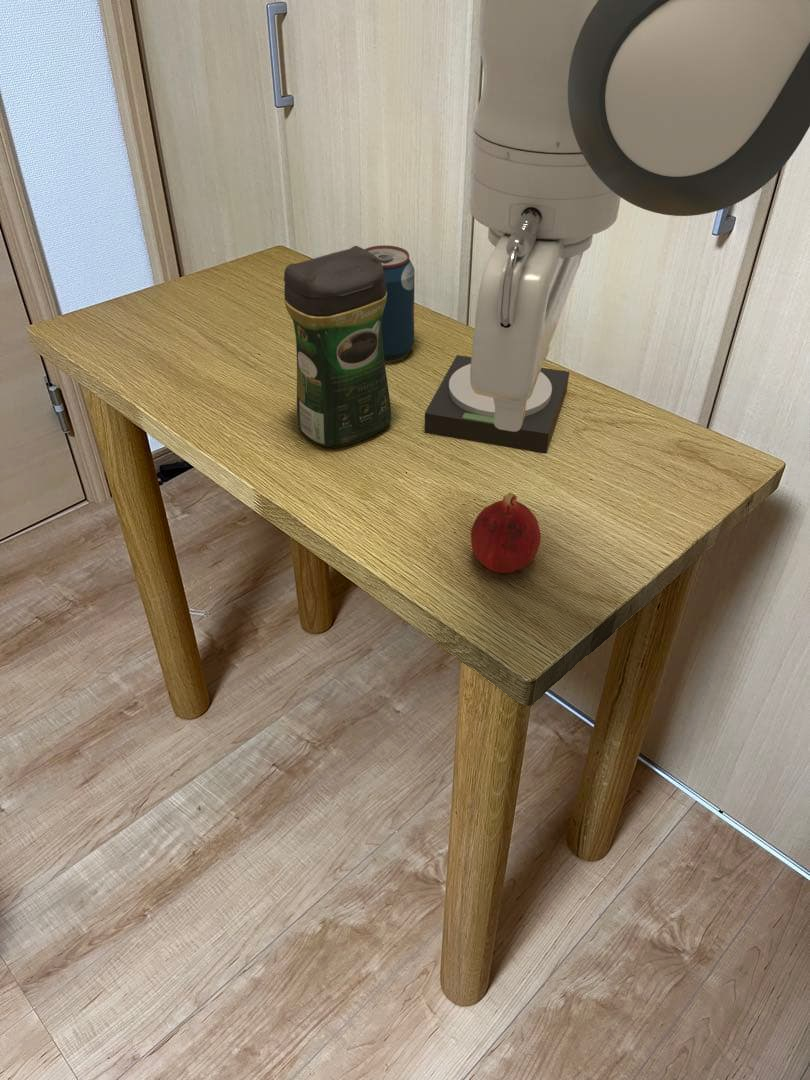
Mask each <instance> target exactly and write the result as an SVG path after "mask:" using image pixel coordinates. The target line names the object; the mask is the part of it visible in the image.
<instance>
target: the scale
mask: <svg viewBox="0 0 810 1080" xmlns="http://www.w3.org/2000/svg"><path fill="white" fill-rule="evenodd" d="M471 358H472V356H466V355H461V354H456V356H455V357H454V359H453V361H452V363H451V364H450V366H449V368H448V370H447V372H446V373H445V375H444V378H443V379H442V381H441V383H440V384H439V386H438V388H437V390H436V391H435V394H434V396H433V397H432V399H431V401H430V403H429V405H428V407H427V408H426V410H425V412H424V433H426V434H427V433H428V434H431V435H432V434H433V435H439V436H443V437H450V438H456V439H463V440H467V441H474V442H479V443H486V444H492V445H497V446H501V447H502V446H503V447H509V448H515V449H520V450H526V451H532V452H537V453H542V454H547V453H548V449H549V446H550V444H551V441H552V438H553V434H554V431H555V428H556V425H557V422H558V419H559V417H560V413H561V410H562V408H563V407H562V406H563V403H564V400H565V399H566V398H565V397H566V395H567V391H568V386H569V377H570V371H566V370H561V369H553V368H547V367H542V368H541V370H540V373H539V376H538V379H537V381H536V384H535V387H534V390H533V393H532V395H531V397H530V398H529V399H528V400H527V402H526V409H525V417H524V420H523V423H522V426H521V428H520V430H518V431H516V432H512V431H507V430H501V429H498V428H496V427H495V425H494V413H495V404H494V400H493V397H487V396H483V395H479V394H476V393H475V392H474V391H473V389H472V386H471V382H470V368H471Z"/></svg>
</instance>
